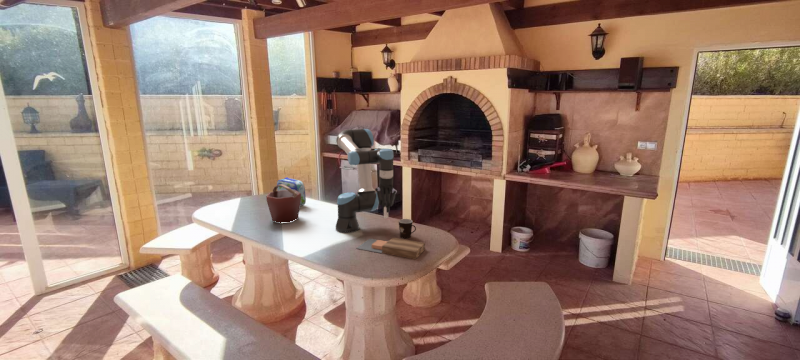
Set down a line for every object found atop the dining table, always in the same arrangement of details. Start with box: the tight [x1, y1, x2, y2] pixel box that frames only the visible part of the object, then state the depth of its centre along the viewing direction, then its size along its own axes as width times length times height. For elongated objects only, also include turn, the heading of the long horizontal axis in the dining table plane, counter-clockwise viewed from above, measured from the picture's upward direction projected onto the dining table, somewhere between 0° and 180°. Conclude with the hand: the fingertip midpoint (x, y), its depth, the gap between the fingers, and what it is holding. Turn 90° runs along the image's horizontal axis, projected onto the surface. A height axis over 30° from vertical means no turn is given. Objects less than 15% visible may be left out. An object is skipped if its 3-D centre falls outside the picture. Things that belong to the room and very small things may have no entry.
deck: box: [381, 237, 426, 260], centre depth 214 cm, size 14×20×4 cm
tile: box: [372, 239, 388, 250], centre depth 220 cm, size 8×8×2 cm
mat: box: [355, 238, 383, 254], centre depth 222 cm, size 16×16×1 cm
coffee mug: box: [398, 218, 417, 239], centre depth 234 cm, size 12×9×10 cm
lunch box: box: [276, 177, 307, 207], centre depth 301 cm, size 26×11×21 cm, turn 51°
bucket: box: [266, 184, 301, 224], centre depth 264 cm, size 24×22×25 cm
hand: (386, 217), depth 217 cm, fingers closed
